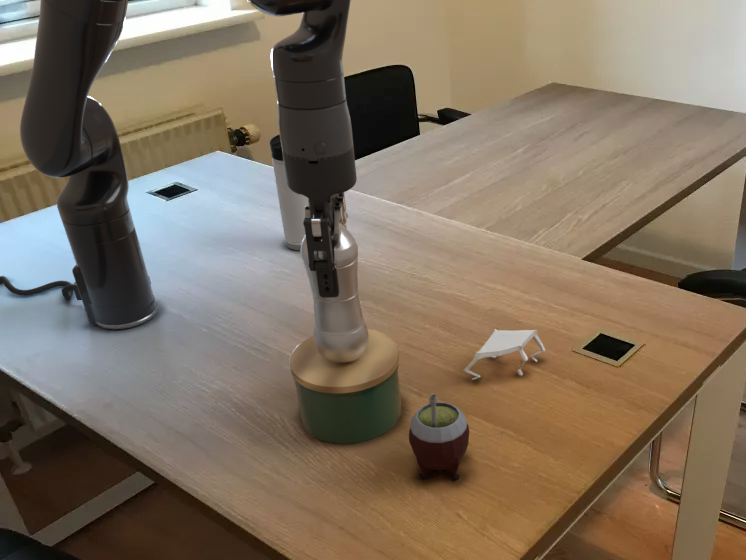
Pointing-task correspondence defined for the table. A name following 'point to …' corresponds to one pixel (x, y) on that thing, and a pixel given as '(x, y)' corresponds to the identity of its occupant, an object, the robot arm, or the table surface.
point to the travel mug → (288, 200)
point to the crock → (348, 391)
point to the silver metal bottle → (339, 306)
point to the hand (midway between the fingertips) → (334, 278)
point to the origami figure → (506, 346)
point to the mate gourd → (438, 438)
